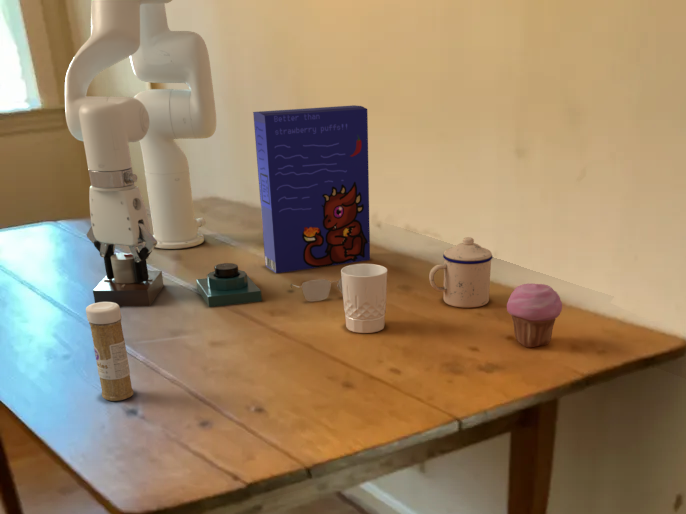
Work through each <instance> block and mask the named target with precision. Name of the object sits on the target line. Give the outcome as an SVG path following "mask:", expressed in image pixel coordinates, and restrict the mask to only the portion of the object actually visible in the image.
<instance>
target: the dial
mask: <svg viewBox="0 0 686 514" xmlns="http://www.w3.org/2000/svg"><path fill="white" fill-rule="evenodd" d="M114 254H115V255H112V256H111V263H112V269H113V274H114V280H115V282H116V283H120V284H130V283H136V282H135V277H134V270H133V262H134V261H135V260H134V257H133V255H132V253H131V252H119V253H114Z"/></svg>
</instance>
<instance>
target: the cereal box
mask: <svg viewBox="0 0 686 514" xmlns="http://www.w3.org/2000/svg"><path fill="white" fill-rule="evenodd" d="M252 114H253V126H254V138H255V139H254V140H255V152H256V164H257V177H258V190H259V201H260V213H261V214H260V215H261V227H262V240H263V252H264V266H265V267H266V268H267V269H269V270H270V271H272V272H273V273H274V274H282V273H289V272H296V271H302V270H309V269H317V268H325V267H332V266H338V265H344V264H345V265H346V264H352V263H359V262H367V261H370V260H371V238H370V236H371V232H370V230H371V229H370V227H371V226H370V186H369V185H370V183H369V182H370V178H369V174H370V173H369V172H370V171H369V125H368V121H369V119H368V116H369V115H368V108H367V107H365V106H362V105H356V104H355V105H353V104H352V105H338V106H324V107H323V106H322V107H321V106H320V107H308V108H306V107H305V108H292V109H291V108H290V109H277V110H276V109H275V110H262V111H261V110H260V111H252Z"/></svg>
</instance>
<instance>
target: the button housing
mask: <svg viewBox="0 0 686 514" xmlns="http://www.w3.org/2000/svg"><path fill="white" fill-rule="evenodd" d="M238 273H239V276H237V277H234V278H217V277H215V270H214V271H213V270H212V271H210V272H209V273H208V274H206V278H196V280H195V281H196V290H197V291H198V292H199V294H200V296H201V297H202V298H203V300H204V302H205V303H206V305H207V306H208V308H212V307H213V308H214V307H222V306H232V305H239V304H240V305H241V304H249V303H259V302H262V301H263V299H262V291H261V289H260V288H259V287H258V286H257V284H255V282H254V281H253V280H252V279H251V277H250V276H249V275H248V274H247V272H246V271H244V270H241V269H238Z"/></svg>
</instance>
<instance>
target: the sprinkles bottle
mask: <svg viewBox="0 0 686 514" xmlns="http://www.w3.org/2000/svg"><path fill="white" fill-rule="evenodd" d="M120 307H121V306H119V305H118V304H116V303H113V302H98V303H95V302H93V303H91V304H89V305H87V306H86V308H85V315H86V320H87V321H88V324H89V326H90V332H91V338H92V343H93V350H94V351H93V352H94V356H95V361H96V368H97V373H98V377H99V382H100V388H101V396H102V398H103V399H104V400H106V401H110V402H117V401H118V402H120V401H124V400H126V399H129V398H131V397H132V396H134V389H133V386H132V380H131V375H130V374H131V370H130V365H129V364H130V363H129V357H128V353H127V345H126V340H125V337H124V332H123V326H122V312H121V308H120Z"/></svg>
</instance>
